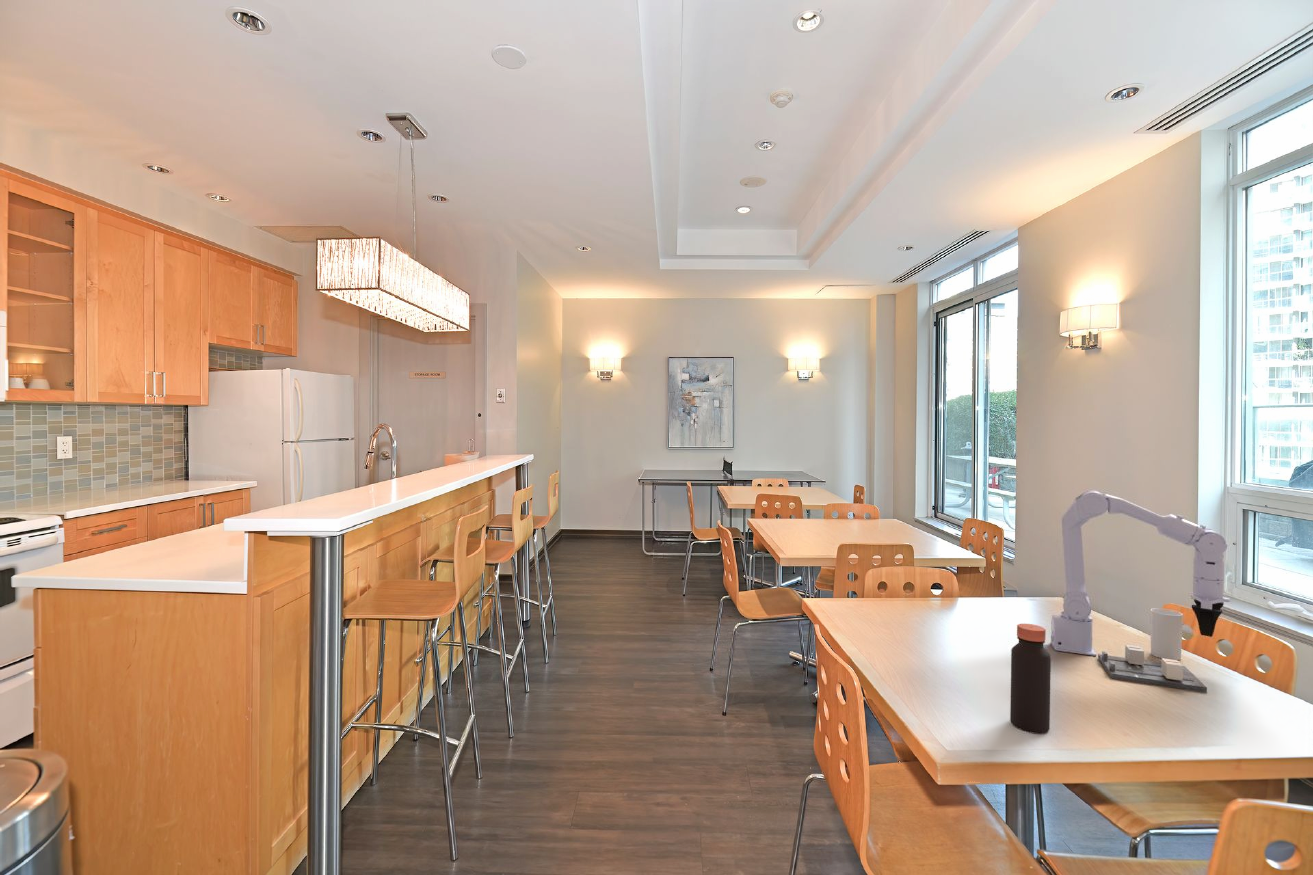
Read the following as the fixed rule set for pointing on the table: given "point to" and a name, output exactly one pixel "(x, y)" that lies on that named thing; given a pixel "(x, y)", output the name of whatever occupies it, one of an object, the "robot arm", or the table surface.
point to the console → (1148, 673)
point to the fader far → (1134, 654)
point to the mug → (1166, 633)
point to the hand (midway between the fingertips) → (1207, 632)
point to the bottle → (1030, 680)
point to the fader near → (1172, 669)
